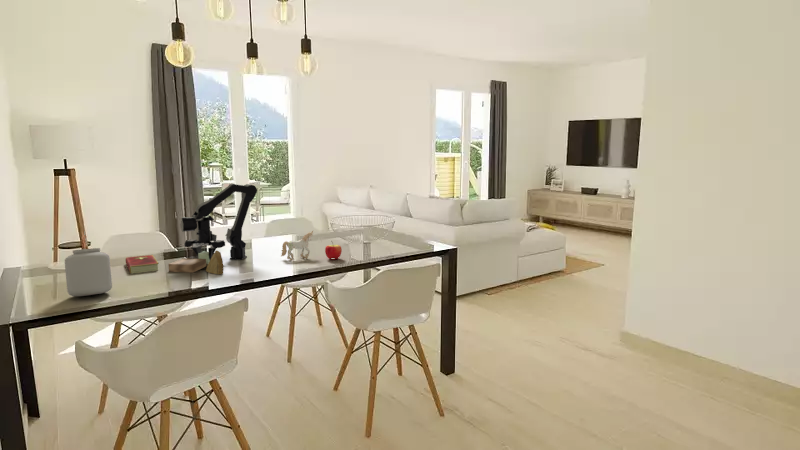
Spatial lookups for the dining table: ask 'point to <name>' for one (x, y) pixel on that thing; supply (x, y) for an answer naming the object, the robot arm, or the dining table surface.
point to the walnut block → (187, 265)
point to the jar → (88, 272)
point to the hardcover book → (141, 264)
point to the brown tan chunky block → (215, 264)
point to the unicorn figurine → (297, 246)
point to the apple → (333, 251)
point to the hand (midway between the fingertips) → (205, 260)
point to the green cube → (204, 256)
